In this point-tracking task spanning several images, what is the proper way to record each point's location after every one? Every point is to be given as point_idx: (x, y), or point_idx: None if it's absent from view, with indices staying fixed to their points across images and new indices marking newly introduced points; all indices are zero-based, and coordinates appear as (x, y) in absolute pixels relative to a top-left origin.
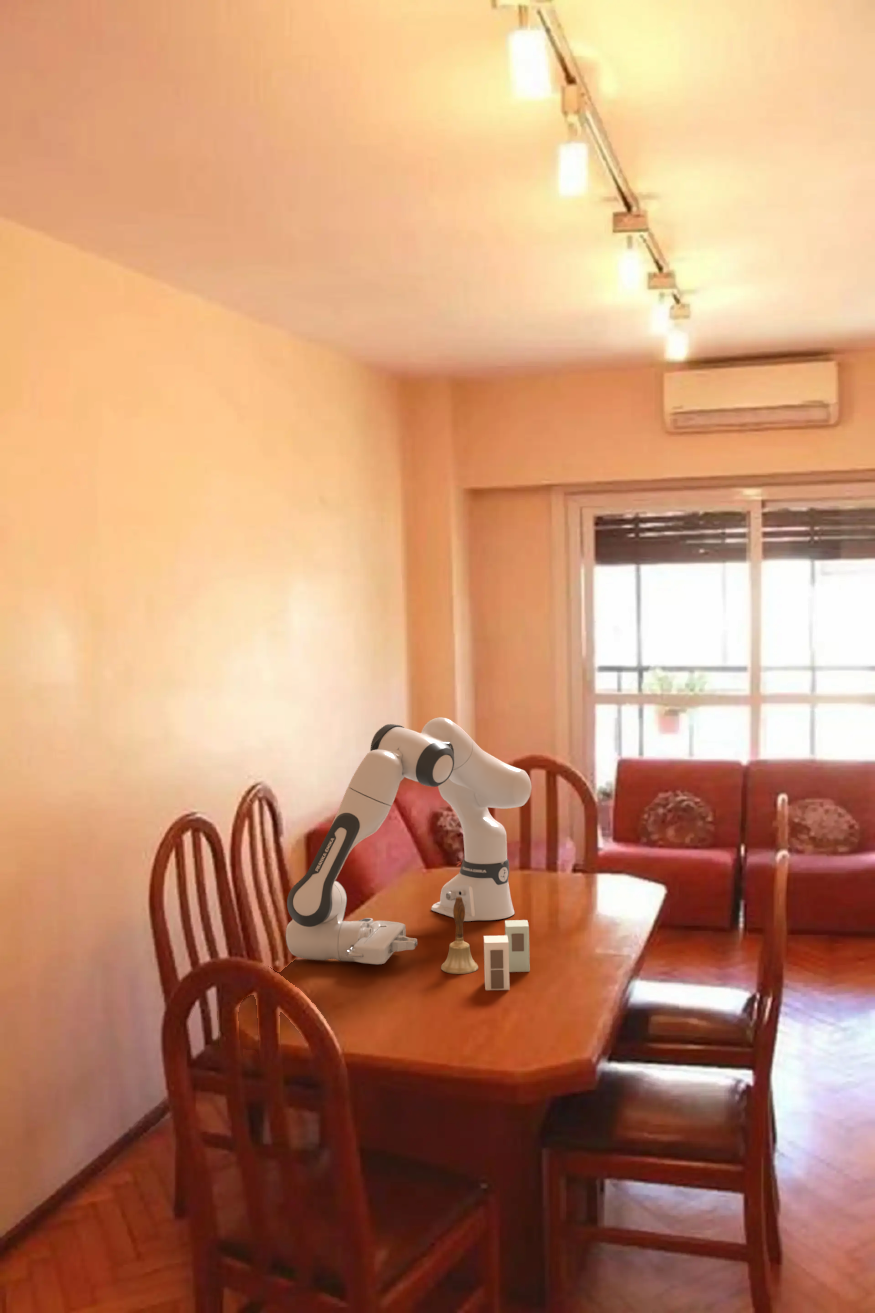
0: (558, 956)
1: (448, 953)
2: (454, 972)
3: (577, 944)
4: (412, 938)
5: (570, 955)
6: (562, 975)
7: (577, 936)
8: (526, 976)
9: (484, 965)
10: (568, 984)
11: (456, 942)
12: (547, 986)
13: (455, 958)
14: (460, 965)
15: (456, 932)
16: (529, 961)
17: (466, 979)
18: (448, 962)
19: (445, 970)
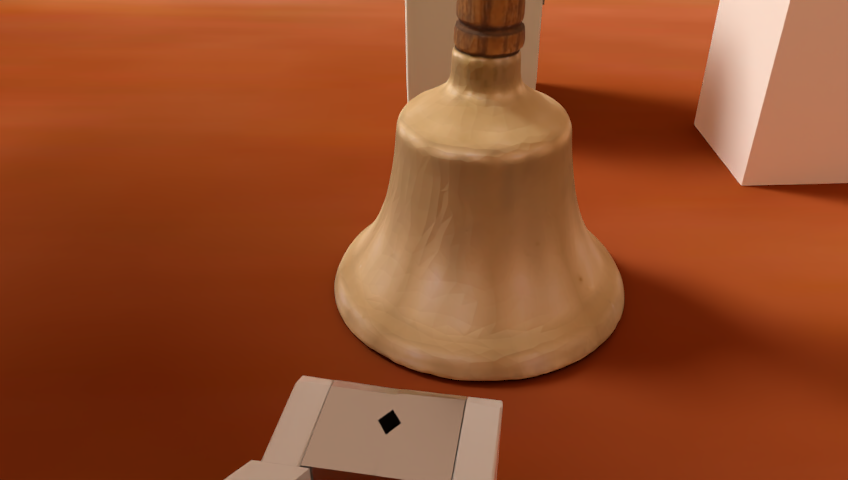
0: (302, 32)
1: (497, 229)
2: (623, 293)
3: (159, 5)
4: (304, 413)
5: (296, 16)
6: (552, 30)
7: (53, 3)
8: (587, 86)
9: (803, 76)
10: (657, 24)
11: (521, 96)
12: (704, 53)
13: (577, 209)
14: (587, 230)
15: (514, 6)
16: None
17: (717, 249)
18: (556, 279)
19: (594, 340)
